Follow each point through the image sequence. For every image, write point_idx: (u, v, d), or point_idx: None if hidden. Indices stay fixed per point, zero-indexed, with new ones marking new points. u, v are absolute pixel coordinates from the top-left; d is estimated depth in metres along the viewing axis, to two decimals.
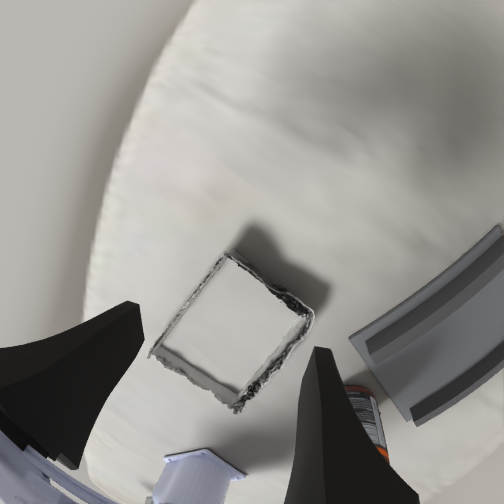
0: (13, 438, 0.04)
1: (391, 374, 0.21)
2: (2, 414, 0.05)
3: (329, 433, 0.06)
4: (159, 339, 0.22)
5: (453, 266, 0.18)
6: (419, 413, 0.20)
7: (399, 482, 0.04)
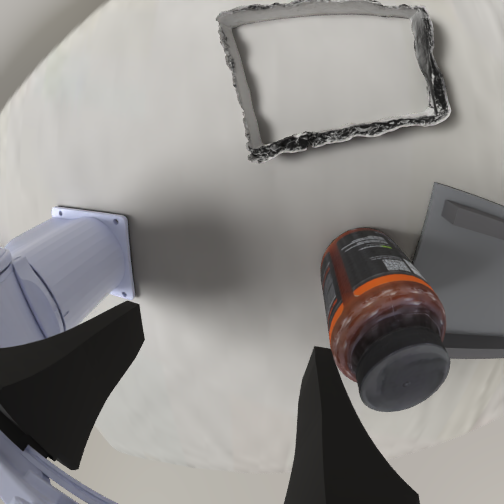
0: (13, 438, 0.04)
1: (429, 264, 0.18)
2: (2, 414, 0.05)
3: (329, 433, 0.06)
4: (261, 7, 0.12)
5: None
6: None
7: (399, 482, 0.04)
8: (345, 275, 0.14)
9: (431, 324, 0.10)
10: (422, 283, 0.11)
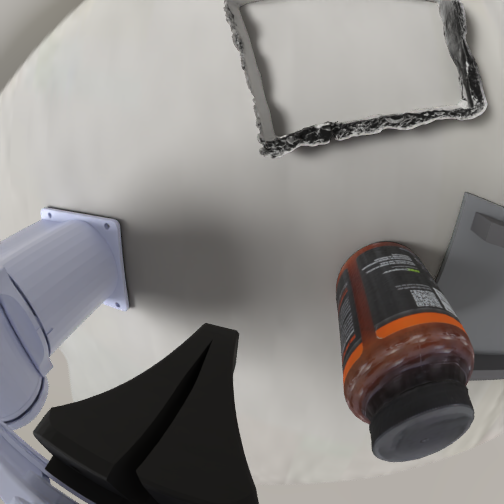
0: None
1: (454, 282, 0.15)
2: (84, 478, 0.04)
3: (191, 405, 0.06)
4: None
5: None
6: None
7: (239, 471, 0.04)
8: (366, 306, 0.11)
9: (460, 373, 0.07)
10: (454, 324, 0.08)
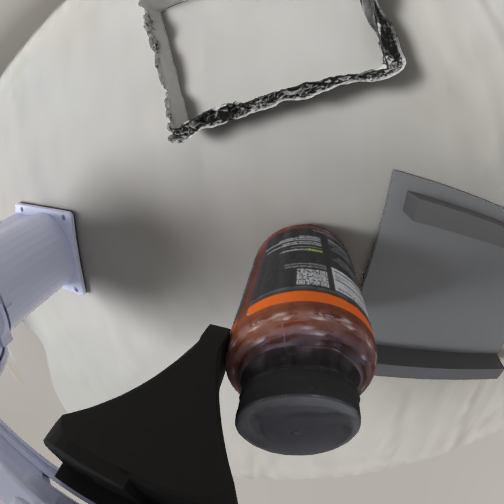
0: None
1: (389, 269, 0.16)
2: (96, 485, 0.04)
3: (175, 400, 0.06)
4: None
5: None
6: None
7: (218, 466, 0.04)
8: (253, 285, 0.12)
9: (341, 362, 0.08)
10: (338, 305, 0.09)
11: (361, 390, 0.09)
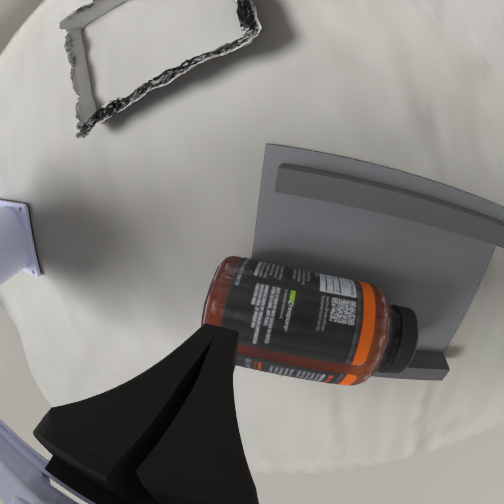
0: None
1: (275, 247, 0.17)
2: (85, 478, 0.04)
3: (191, 405, 0.06)
4: (87, 6, 0.11)
5: None
6: None
7: (239, 471, 0.04)
8: (313, 360, 0.12)
9: (392, 309, 0.14)
10: (373, 300, 0.13)
11: None
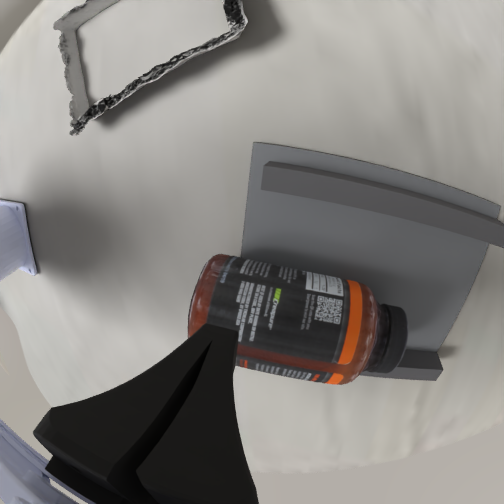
0: None
1: (264, 245, 0.17)
2: (84, 478, 0.04)
3: (191, 405, 0.06)
4: (80, 7, 0.11)
5: None
6: None
7: (239, 471, 0.04)
8: (299, 359, 0.12)
9: (381, 308, 0.14)
10: (360, 299, 0.13)
11: None
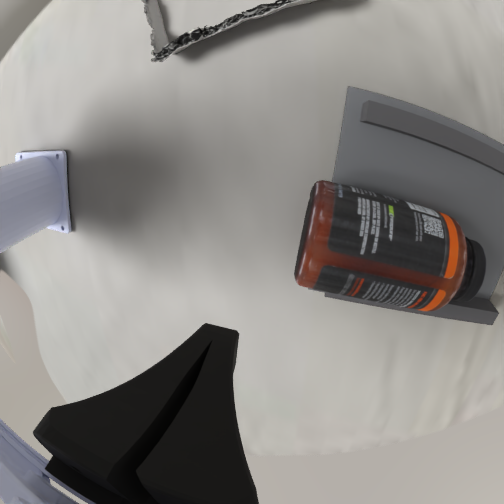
0: None
1: (354, 181, 0.16)
2: (84, 478, 0.04)
3: (191, 405, 0.06)
4: None
5: (485, 135, 0.13)
6: None
7: (239, 471, 0.04)
8: (413, 272, 0.12)
9: None
10: (451, 221, 0.12)
11: None
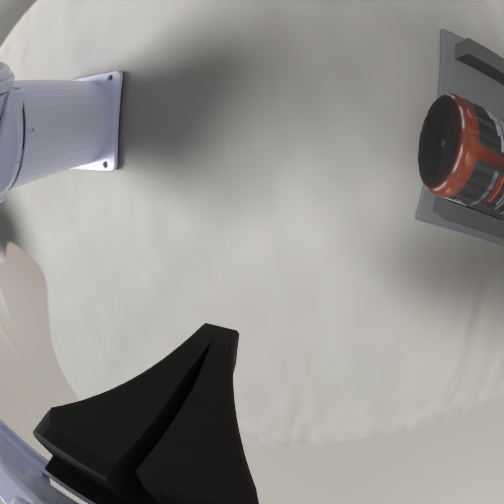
0: None
1: None
2: (85, 478, 0.04)
3: (191, 405, 0.06)
4: None
5: None
6: None
7: (239, 471, 0.04)
8: None
9: None
10: None
11: None
